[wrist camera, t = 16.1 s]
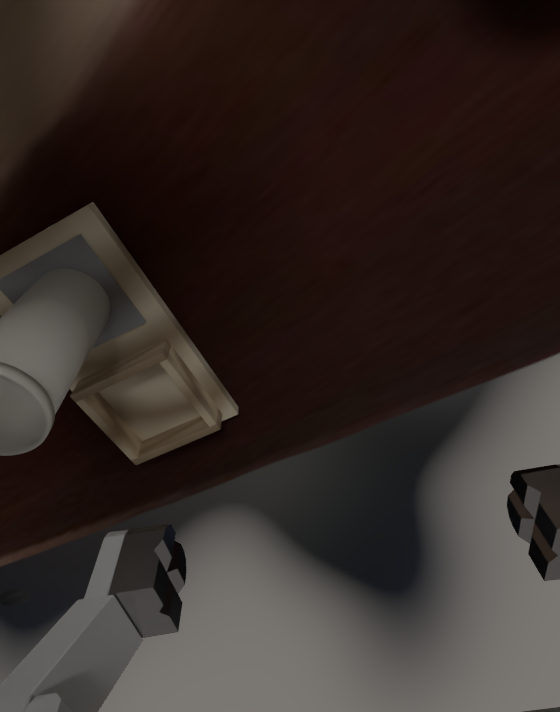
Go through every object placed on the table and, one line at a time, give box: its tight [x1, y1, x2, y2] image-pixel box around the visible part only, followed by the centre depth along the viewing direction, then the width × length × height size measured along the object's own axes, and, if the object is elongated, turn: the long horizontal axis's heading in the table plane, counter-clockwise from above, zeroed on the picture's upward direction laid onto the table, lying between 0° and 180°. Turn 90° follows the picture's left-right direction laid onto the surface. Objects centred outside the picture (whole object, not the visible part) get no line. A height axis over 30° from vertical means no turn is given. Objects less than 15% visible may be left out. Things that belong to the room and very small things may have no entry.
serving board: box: [0, 202, 238, 465], centre depth 42 cm, size 24×13×4 cm, turn 26°
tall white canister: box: [0, 268, 110, 456], centre depth 33 cm, size 10×7×15 cm
